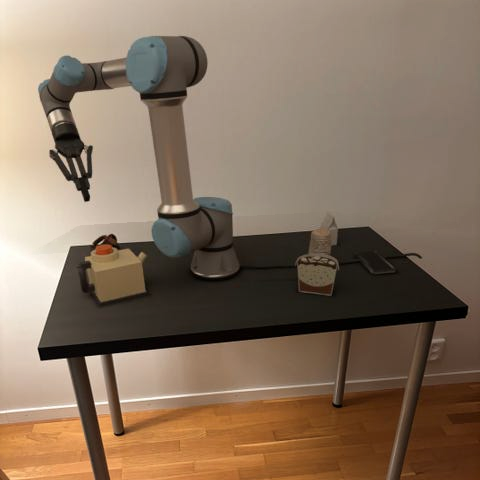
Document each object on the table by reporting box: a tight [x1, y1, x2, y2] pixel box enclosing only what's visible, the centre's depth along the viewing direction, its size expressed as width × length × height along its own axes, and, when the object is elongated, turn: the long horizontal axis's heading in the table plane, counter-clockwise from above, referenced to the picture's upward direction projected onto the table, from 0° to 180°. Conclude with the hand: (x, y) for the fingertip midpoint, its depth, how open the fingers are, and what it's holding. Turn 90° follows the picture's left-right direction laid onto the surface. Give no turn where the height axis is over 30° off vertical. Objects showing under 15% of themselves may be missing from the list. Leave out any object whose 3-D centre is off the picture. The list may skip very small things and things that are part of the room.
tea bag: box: [320, 211, 339, 246], centre depth 174 cm, size 4×7×10 cm, turn 12°
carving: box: [307, 228, 332, 256], centre depth 155 cm, size 6×8×12 cm
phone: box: [355, 251, 397, 275], centre depth 158 cm, size 8×1×15 cm
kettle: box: [84, 247, 147, 302], centre depth 142 cm, size 13×12×12 cm
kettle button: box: [96, 244, 112, 255], centre depth 140 cm, size 4×4×2 cm
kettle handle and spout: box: [76, 251, 149, 307], centre depth 142 cm, size 20×13×11 cm, turn 119°
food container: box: [294, 253, 340, 297], centre depth 141 cm, size 12×6×10 cm, turn 71°
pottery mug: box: [89, 233, 122, 252], centre depth 169 cm, size 12×10×8 cm
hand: (87, 199), depth 144 cm, fingers closed
